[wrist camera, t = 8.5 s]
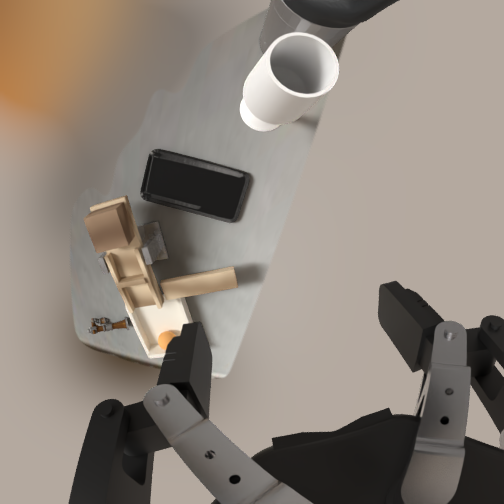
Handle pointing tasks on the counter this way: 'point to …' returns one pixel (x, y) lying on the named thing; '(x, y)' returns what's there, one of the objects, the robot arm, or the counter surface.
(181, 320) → the tray
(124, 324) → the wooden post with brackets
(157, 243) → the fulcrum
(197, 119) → the counter surface
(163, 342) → the ball
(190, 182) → the phone
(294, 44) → the champagne flute
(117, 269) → the lever
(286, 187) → the counter surface
